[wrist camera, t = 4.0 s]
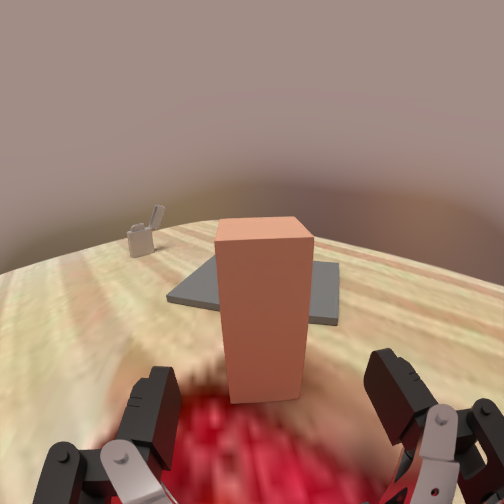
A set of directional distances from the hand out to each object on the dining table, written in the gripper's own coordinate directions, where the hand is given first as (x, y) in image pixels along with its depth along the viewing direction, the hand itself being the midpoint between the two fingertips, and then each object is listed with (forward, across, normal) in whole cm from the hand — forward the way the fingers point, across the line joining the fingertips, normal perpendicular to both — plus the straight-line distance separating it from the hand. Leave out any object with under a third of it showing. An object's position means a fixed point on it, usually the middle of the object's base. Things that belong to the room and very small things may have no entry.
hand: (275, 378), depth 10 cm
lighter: (+36, +17, +7) cm, 40 cm away
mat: (+22, -2, +6) cm, 23 cm away
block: (+6, 0, +6) cm, 9 cm away
